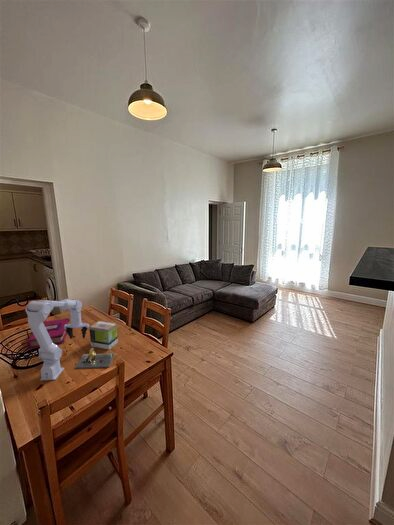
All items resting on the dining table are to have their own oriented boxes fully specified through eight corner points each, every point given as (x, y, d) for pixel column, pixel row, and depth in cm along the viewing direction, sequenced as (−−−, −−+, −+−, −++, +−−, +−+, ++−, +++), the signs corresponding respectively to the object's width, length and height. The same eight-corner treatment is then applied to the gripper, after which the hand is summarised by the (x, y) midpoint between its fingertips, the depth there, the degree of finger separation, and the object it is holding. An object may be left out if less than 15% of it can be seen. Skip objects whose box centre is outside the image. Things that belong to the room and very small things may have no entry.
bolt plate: (109, 367, 128) (108, 365, 128) (75, 368, 127) (75, 366, 126) (114, 355, 139) (114, 353, 139) (83, 356, 137) (83, 355, 137)
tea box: (118, 342, 154) (117, 323, 151) (109, 350, 145) (107, 330, 142) (100, 338, 158) (99, 320, 155) (90, 346, 148) (88, 326, 146)
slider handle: (92, 361, 130) (91, 353, 129) (86, 361, 130) (86, 353, 129) (95, 355, 137) (95, 347, 136) (91, 355, 136) (90, 347, 135)
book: (27, 350, 144) (25, 339, 143) (40, 330, 170) (38, 321, 168) (63, 344, 151) (62, 334, 150) (70, 326, 177) (69, 317, 176)
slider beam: (109, 361, 131) (108, 358, 131) (80, 362, 130) (79, 359, 130) (111, 356, 136) (111, 353, 136) (83, 357, 135) (83, 354, 135)
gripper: (90, 315, 142) (91, 334, 145) (67, 315, 141) (69, 335, 144) (85, 320, 136) (87, 339, 138) (61, 320, 134) (63, 340, 137)
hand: (77, 337), depth 140 cm, fingers open, 7 cm apart
